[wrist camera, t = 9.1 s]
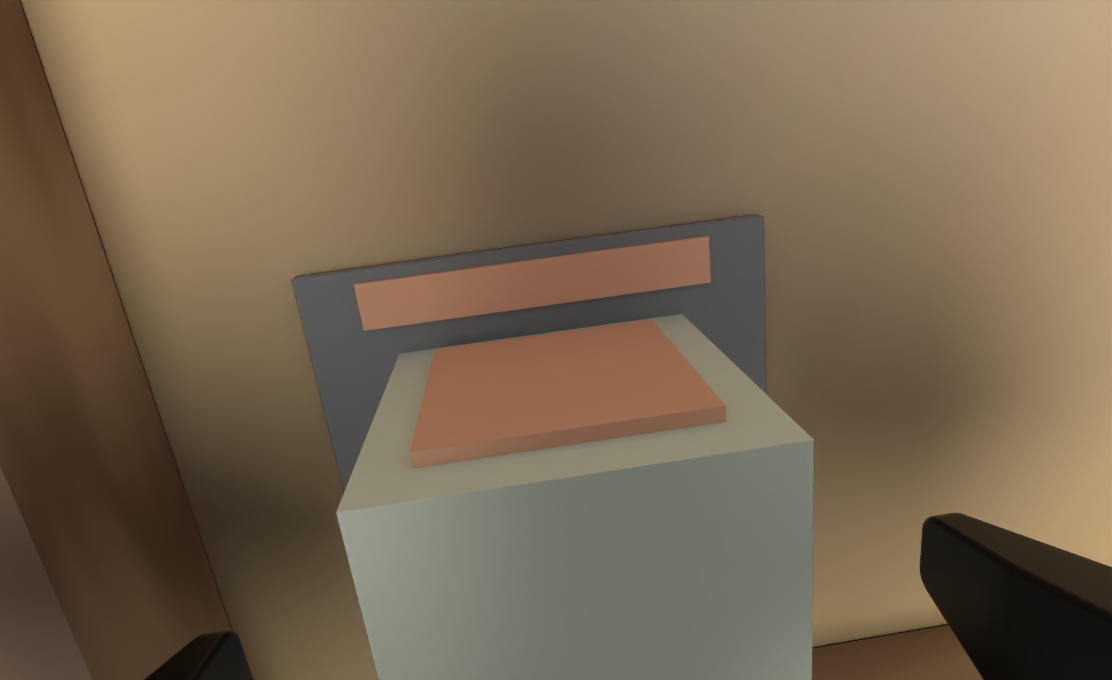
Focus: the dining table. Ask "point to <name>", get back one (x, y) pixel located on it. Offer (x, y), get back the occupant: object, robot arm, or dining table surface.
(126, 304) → the dining table surface
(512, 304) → the tile
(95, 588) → the block
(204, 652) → the robot arm
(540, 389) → the sage cube
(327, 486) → the dining table surface
